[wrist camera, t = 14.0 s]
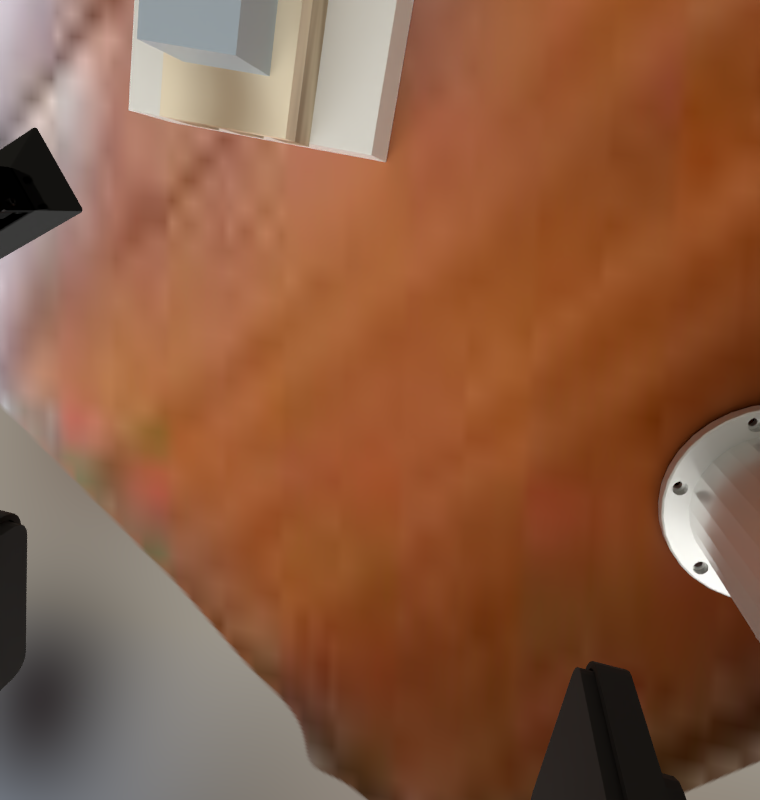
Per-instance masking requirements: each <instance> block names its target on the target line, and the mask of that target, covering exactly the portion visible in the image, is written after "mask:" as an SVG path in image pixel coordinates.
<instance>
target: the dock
mask: <svg viewBox="0 0 760 800" xmlns="http://www.w3.org/2000/svg"><path fill="white" fill-rule="evenodd" d="M413 3H414V0H328V7H327V15H326V22H325V30H324V37H323V45H322V52H321V60H320V67H319V74H318V82H317V89H316V97H315V104H314V112H313V119H312V127H311V134H310V142H309V147H307V148H312V149H317V150H323V151H328V152H333V153H339V154H344V155H350V156H355V157H360V158H366V159H371V160H376V161H382V162H386V159H387V154H388V148H389V142H390V136H391V130H392V125H393V119H394V113H395V107H396V101H397V96H398V90H399V84H400V78H401V72H402V67H403V61H404V55H405V49H406V43H407V38H408V32H409V26H410V20H411V15H412V9H413ZM138 10H139V0H135V2H134V20H133V39H132V57H131V75H130V94H129V111H133V112H137V113H140V114H144V115H147V116H151V117H154V118H158V119H162V120H165V121H169V122H172V123H177V124H183V125H188V126H193V125H190V124H186V123H183V122H179V121H176V120H172V119H169V118H165V117H162V116H159V114H160V99H161V84H162V69H163V53H164V52H163V51H161V50H159V49H157V48H154V47H152V46H150V45H148V44H146V43H144V42H142V41H140V40H138V39H137V29H138ZM194 127H197V126H194ZM199 128H202V127H199ZM204 129H207V128H204ZM210 130H213V129H210ZM215 131H218V130H215ZM219 131H221V132H226V133H231V134H237V133H234V132H231V131H228V130H224V129H220V128H219ZM237 135H241V134H237ZM242 136H246V135H242ZM247 137H251V136H247ZM253 138H257V137H253ZM258 139H262V138H258ZM264 140H269V141H274V142H280V143H285V142H282V141H279V140H276V139H273V138H270V137H264ZM285 144H290V143H285ZM290 145H295V144H290ZM296 146H301V145H296ZM301 147H306V146H301Z"/></svg>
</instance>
